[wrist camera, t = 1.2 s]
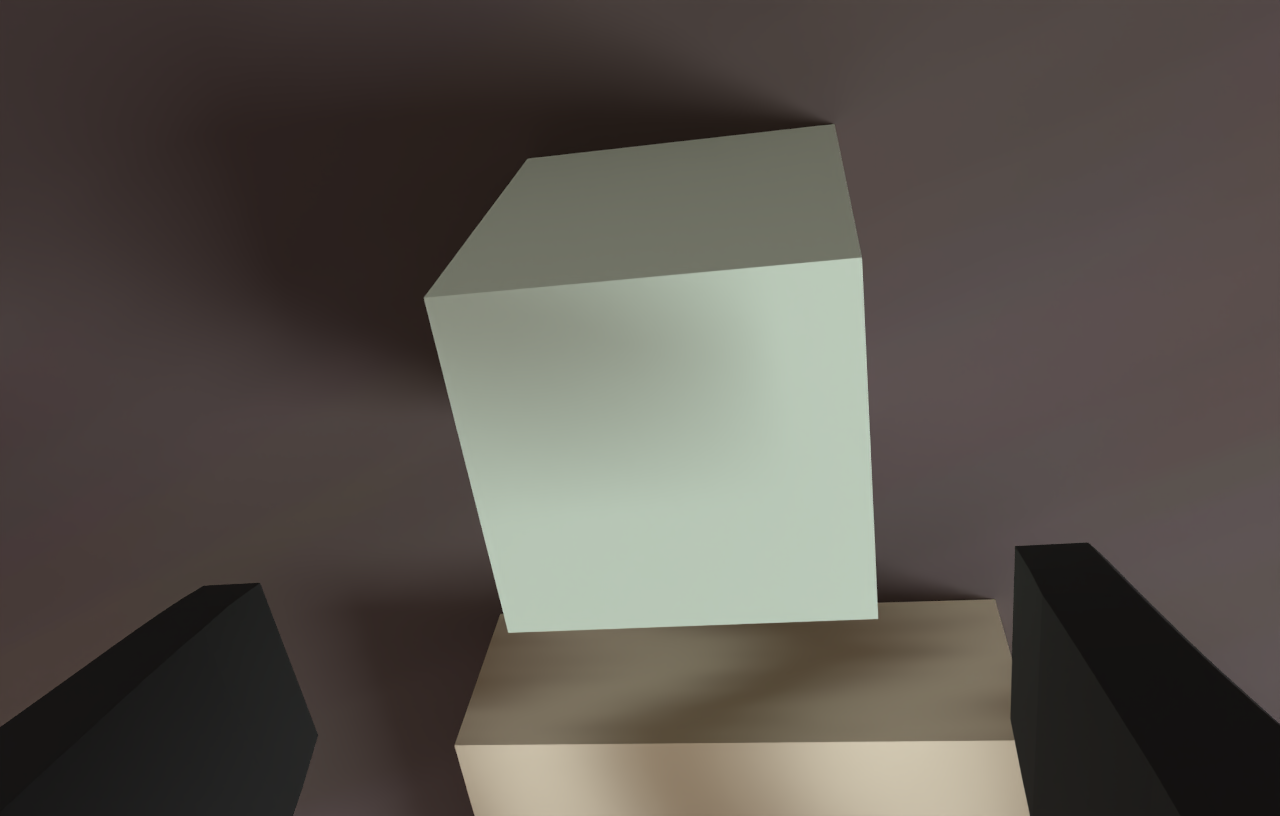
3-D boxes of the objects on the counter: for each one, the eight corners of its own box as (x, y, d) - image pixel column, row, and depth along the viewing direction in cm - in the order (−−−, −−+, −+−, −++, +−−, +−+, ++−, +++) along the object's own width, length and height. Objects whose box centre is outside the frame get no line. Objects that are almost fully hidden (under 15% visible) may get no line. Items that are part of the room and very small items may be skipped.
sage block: (833, 123, 17) (862, 257, 11) (849, 401, 19) (877, 619, 14) (527, 157, 18) (423, 297, 12) (578, 420, 20) (508, 632, 15)
